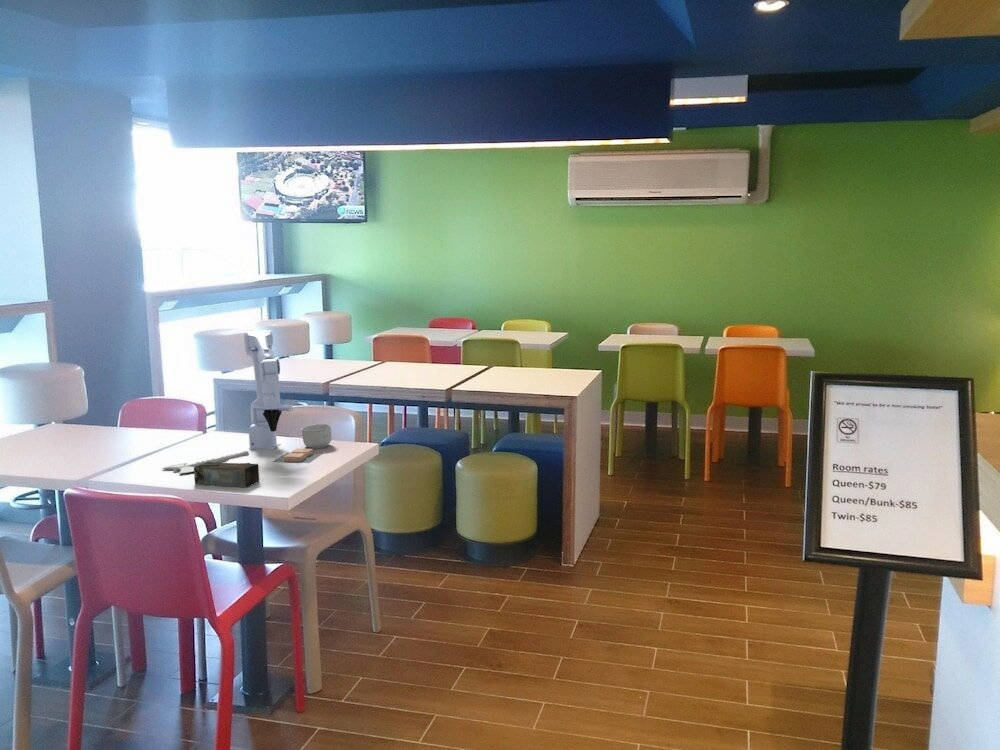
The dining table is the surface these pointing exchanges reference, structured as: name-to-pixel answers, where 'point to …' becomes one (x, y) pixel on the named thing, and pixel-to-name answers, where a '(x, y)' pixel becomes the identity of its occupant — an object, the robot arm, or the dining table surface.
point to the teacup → (317, 435)
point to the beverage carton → (226, 474)
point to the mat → (306, 460)
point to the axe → (190, 467)
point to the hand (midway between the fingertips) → (273, 430)
